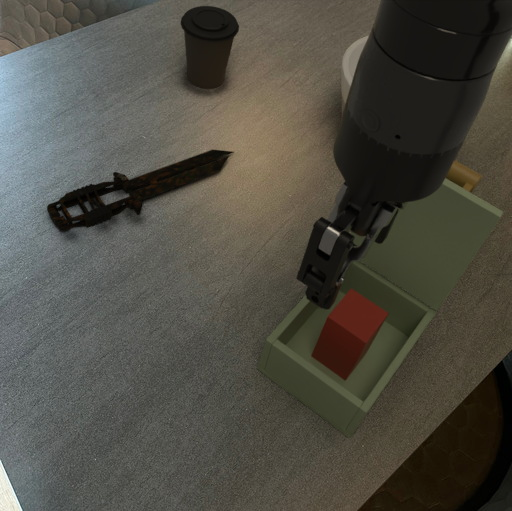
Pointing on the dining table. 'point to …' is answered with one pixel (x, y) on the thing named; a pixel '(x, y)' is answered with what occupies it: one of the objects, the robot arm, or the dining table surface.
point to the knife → (128, 185)
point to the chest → (369, 368)
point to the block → (348, 333)
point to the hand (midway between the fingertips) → (346, 267)
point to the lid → (435, 238)
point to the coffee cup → (208, 44)
